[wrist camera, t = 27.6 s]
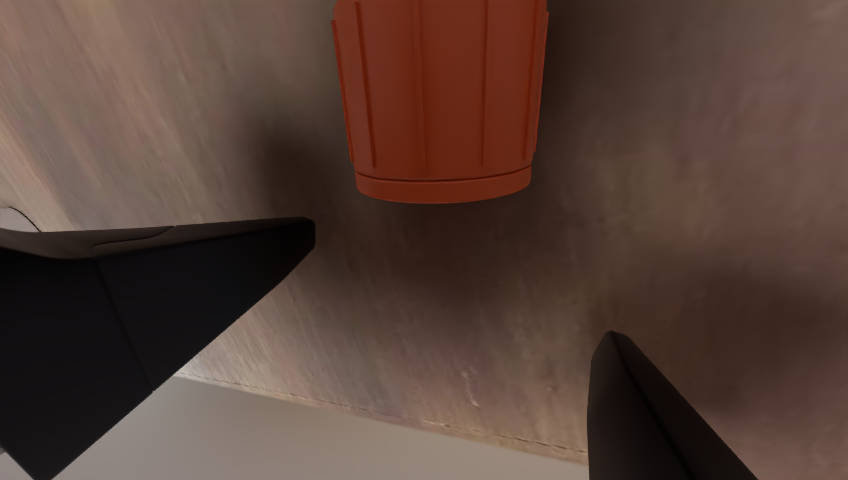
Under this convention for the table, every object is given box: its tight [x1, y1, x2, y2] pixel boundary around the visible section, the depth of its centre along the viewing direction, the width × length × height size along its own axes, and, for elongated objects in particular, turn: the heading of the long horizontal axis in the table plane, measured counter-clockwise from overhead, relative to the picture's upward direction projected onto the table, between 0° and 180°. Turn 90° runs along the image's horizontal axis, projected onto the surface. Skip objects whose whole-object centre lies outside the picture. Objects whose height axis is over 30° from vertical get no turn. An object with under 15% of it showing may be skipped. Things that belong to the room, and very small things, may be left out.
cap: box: [331, 0, 549, 204], centre depth 6 cm, size 4×4×3 cm
